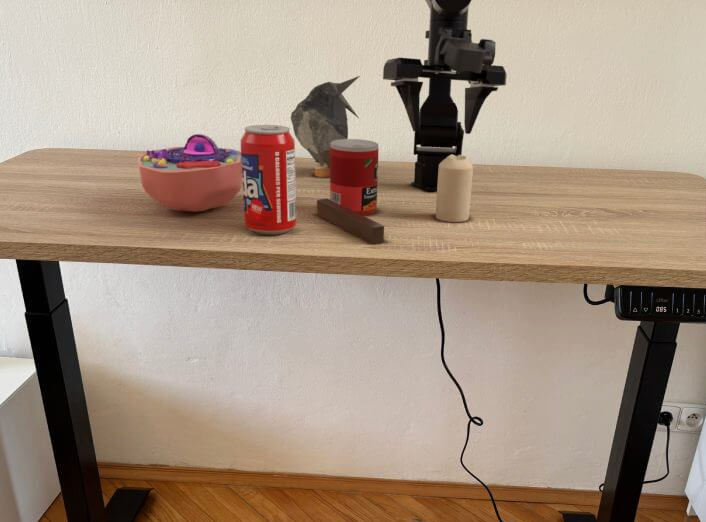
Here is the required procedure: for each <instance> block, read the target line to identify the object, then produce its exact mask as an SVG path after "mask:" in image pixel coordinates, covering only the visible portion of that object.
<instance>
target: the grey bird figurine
mask: <svg viewBox="0 0 706 522" xmlns="http://www.w3.org/2000/svg"><path fill="white" fill-rule="evenodd" d="M360 77H361V75H358V76H356V77H353V78H351V79H347V80H345V81H342V82H332V81H327V82H323V83H321V84H318V85H316V86H314V87H313V88H312V89H311V90H310V92H309V93H308V95H307V96H306V97H305V98H304V99H303V100H301V101H300V102H299V103H298V104H297V105H296V106H295V109H294V110H293V111H291V114H290V121H291V124H292V129H293V133H294V136H295V138H296V140H297V141H298V142H299V144H300V146H301V147H302V148H304V149H305V150H306V151H307V152H308V153H309V155H310V156H311V157H312V158H313V160H314V176H315V177H317V178H330V145H331V142H332V141H335V140H340V139H349V124H348V115H347V110H348V111H349V113H351V114H352V115H354V116H355V117H356V118H357V119H360V117H359V116H358V115H357V113H356V112H355V110H354V109H353V107H352V106H351V105H350V103H349V102H348V100H347V99H346V98H345V96H344V95H343V93H344V92H345V91H346V90H347V89H348V88H349V87H351V86H352V85H353V83H355V82H356V81H357V80H358V79H359V78H360Z"/></svg>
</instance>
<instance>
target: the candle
mask: <svg viewBox="0 0 706 522" xmlns="http://www.w3.org/2000/svg"><path fill="white" fill-rule="evenodd" d="M473 171H474V166H473V164H472V162H470V160H469V158H468V157H467V156H466V155H458V156H455V155H450V156H449V157H447V158H446V159H444V160H443V161H442V162H441V163H440V164H439V170H438V186H437V190H436V203H435V205H436V206H435V218H436V219H437V220H440V221H442V222H451V223H461V222H466V221H468V220H469V218H470V209H471V208H470V206H471V197H472V196H471V195H472V186H473V185H472V183H473Z"/></svg>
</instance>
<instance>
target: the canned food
mask: <svg viewBox="0 0 706 522" xmlns="http://www.w3.org/2000/svg"><path fill="white" fill-rule="evenodd" d="M378 178H379V144H378V143H377V142H376V141H373V140H368V139H358V138H348V139H340V140H335V141H332V142H331V145H330V177H329V200H332V201H334V202H336V203H338V204H340V205H342V206H344V207H346V208H348V209H350V210H352V211H354V212H357V213H359V214H361V215H363V216H365V217H366V216H369V215H373V214H374V213H376V211H377V207H378V182H379V181H378V180H379V179H378Z"/></svg>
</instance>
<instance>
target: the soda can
mask: <svg viewBox="0 0 706 522" xmlns="http://www.w3.org/2000/svg"><path fill="white" fill-rule="evenodd" d="M295 142H296V141H295V139H294V137H293V136H292V133H290V127H288V126H284V125H279V124H278V125H276V124H255V125H247V126H246V127H244V133H243V135H242V136H241V138H240V152H241V162H242V199H243V218H244V225H245V227H246V228H247V229H249V230H251V231H252V232H254V233H256V234H259V235H266V236H275V235H283V234H286V233H288V232H289V231H291V230H292V229H294V228H295V227H296V226H297V192H296V191H297V190H296V189H297V188H296V186H297V185H296V144H295Z"/></svg>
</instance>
